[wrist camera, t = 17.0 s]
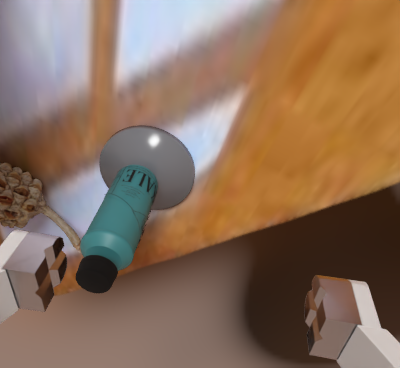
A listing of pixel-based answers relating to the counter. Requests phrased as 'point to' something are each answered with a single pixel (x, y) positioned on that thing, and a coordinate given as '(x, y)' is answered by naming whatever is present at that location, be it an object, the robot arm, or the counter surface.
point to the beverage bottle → (116, 228)
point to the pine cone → (26, 201)
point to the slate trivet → (151, 161)
